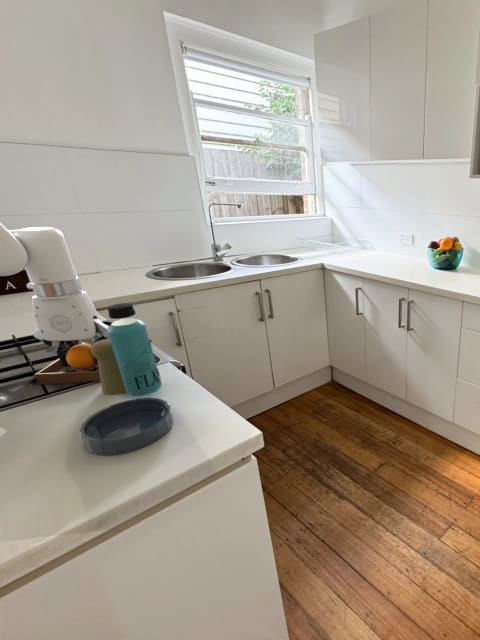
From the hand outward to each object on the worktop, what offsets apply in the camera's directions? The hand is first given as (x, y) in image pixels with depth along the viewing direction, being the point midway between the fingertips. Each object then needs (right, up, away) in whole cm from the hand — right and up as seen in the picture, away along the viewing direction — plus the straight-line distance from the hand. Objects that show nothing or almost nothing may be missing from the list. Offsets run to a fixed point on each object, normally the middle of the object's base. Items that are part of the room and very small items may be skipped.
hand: (85, 362), depth 88 cm
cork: (+12, -5, -5) cm, 14 cm away
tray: (0, -2, +1) cm, 2 cm away
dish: (+25, -12, -19) cm, 34 cm away
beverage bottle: (+20, -7, -8) cm, 22 cm away
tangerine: (0, +1, 0) cm, 1 cm away
